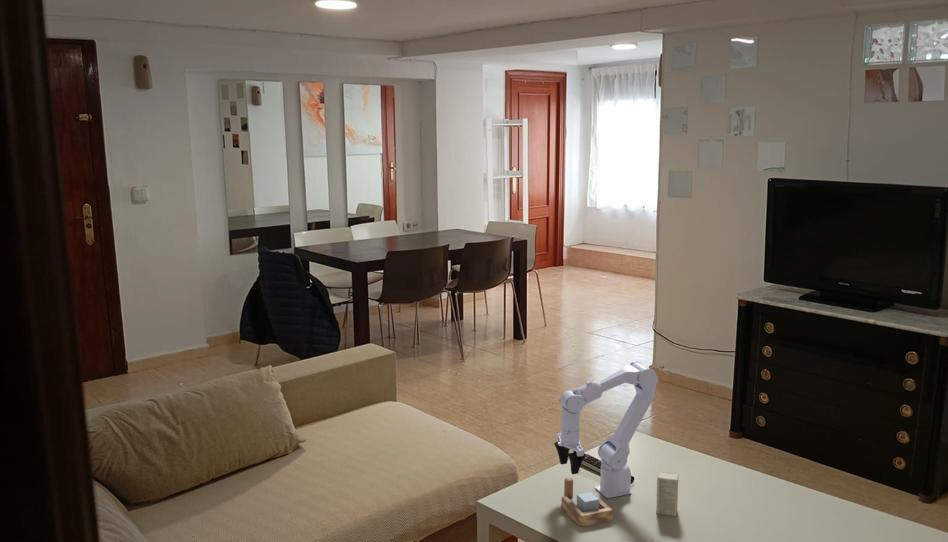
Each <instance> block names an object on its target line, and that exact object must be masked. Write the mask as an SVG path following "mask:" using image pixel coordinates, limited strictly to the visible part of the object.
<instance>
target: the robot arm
mask: <svg viewBox="0 0 948 542" xmlns="http://www.w3.org/2000/svg"><path fill="white" fill-rule="evenodd" d="M659 381H660V380H659V378H658V376H657V373H656V371H655V370H654V369H652V368H649V367H648V366H646V365H644V364H643V363H642V362H641V361H638V360H634V361H631V362H630V363H627V364H624V366H622V368H621V369H619V370H618V371H616V372H614V373H613V374H610V375H608V376H606V377H605V378H603V379H602V380H600V381H595V380H592V381H590V380H588V381H586V382H585V384H583V385H581V386H578V387H575V388H573V390H565V391H564V392H563V393H562V394H561V395H560V398H559V399H558V403H559V404H560V406H561V422H560V423H561V424H560V425H561V428H560V429H561V431H560V432H559V433H556V440H557V441H555V442H554V443H553V445H554V446H555V448H556V451H557V454H558V455H557V456H558V460H559V462H560V465H567V463H568V462H569V464H570V472H571V474H572V475H577V474H579V473H580V469H581V466H582V463H583V461H584V459H585V458H586V456H587V453H585V451H584V448H583V447H582V444H581V442H580V425H581V424H580V423H581V422H580V420H581V419H580V418H581V417H580V414H581V411H582V410H583V408H584V407H585V406H586V405H588V404H590V403H592V402H593V401H594V402H595V401H596V400H598V399H600V398H602V395H603V393H604V392H607V391H608V390H609V391H610V390H611V389H614V388H616V387H618V386H621V385H623V384H629V385H633V386H634V389H635V392H636V394H635V396H634V397H633V399H632V401H631V403H630V405H629V406H628V407H627V410H626V412H625V413H624V416H623V417H622V418H621V421H620V422H619V424H618V426H617V428H616V429H615V432H614V433H613V434H612V435H610V436H607V437H606V439H605V441H604V442H603V443H601V444H600V445H599V447H598V450H597V454H598V458H600V461H601V462H600V478H599V479H600V480H599V481H600V482H599V483H600V484H599V485H594V486H595V487H594V489H596V490H597V492H599V493H600V494H601V495H602V496H604V498H606V499H611V498H616V497H620V496H625V495H631V494H632V491H631V482H632V481H631V480H632V473H631V468H630V466H629V464H627V463H628V457H629V455H630V453H631V452H630V445H629V444H630V442H631V440H632V438H633V437H634V435H635V434H636V431H637V429H638V427H639V426H640V423H641V422H642V420H643V418H644V417H645V415H646V413H647V411H648V410H649V407H650V406H651V404H652V402H653V401H654V398H655V397H656V388H657V384H658V383H659ZM570 450H571V451H573V452H570Z"/></svg>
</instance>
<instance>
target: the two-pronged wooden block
mask: <svg viewBox="0 0 948 542" xmlns="http://www.w3.org/2000/svg"><path fill="white" fill-rule="evenodd" d="M589 492H590V491H587V492H586V493H589ZM591 492H592V493H593V494H594V495H595V496H596V497H597V498H599V510H594V511H589V512H584V513H583V512H582V511H581V510H580V509H579V508H578V507H577V506H576V505H575V504H574V503H573V502H572V501H571V500H569V499H568V498H567V497H564V496H563V497H561V507H562V508H561V507H560V508H561V509H562V510H563V511H564V510H565V511H566V512H567V513H568V514H569V515H570V516H571V517H570V516H569V515H568V514H567V513H566V512H565V511H564V512H565V513H566V514H567V515H568V516H569V517H570V518H571V519H572V520H573V521H574V522H576V524H578V526H580V527H581V526H582V527H586V525H587V526H591V525H596V524H601V523H607V522H611V520H612V521H613V512H614V511H613V508H611V507H610V506H609V505H608V504H607V503H606V502H604V501H603V500H602V499H601V498H600V497H598V495H596V494H595V493H594V492H593V491H591ZM606 521H607V522H606Z"/></svg>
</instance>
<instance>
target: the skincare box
mask: <svg viewBox="0 0 948 542" xmlns="http://www.w3.org/2000/svg"><path fill="white" fill-rule="evenodd" d="M656 478H657V479H656V481H657V482H656V483H657V484H656V511H655V512H656V514H658V515H663V516H664V515H667V516H672V517H676V516H677V513H678V503H679V502H678V499H679V498H678V497H679V474H677V473H672V472H671V473H670V472H662V471H659V472H658V473H657V476H656Z"/></svg>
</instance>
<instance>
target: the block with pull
mask: <svg viewBox="0 0 948 542" xmlns="http://www.w3.org/2000/svg"><path fill="white" fill-rule="evenodd" d="M588 492H589V493H587V492H585V493H579V494H577V495H576V499H575V498H574V479H573V478H572V477H566V478H564V489H563V497H567V498H568V499H569V500H571V501H572V502H573V503H574V504H575V505H576V506H577V507H578V508H579V509H580V510H581V511H582V512H583V513H584V512H589V511H594V510H599V498H600V497H599V498H597V497H598V496H597V495H596V494H595V493H594V492H593V491H588ZM592 492H593V493H594V494H595V495H596V496H597V497H596V496H595V495H594V494H593V493H592Z"/></svg>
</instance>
